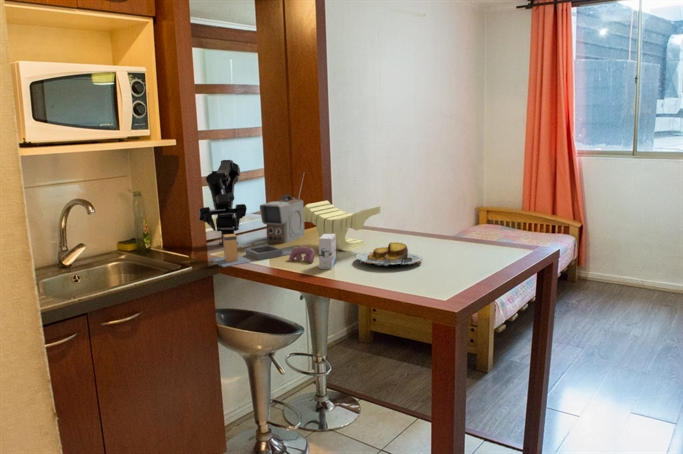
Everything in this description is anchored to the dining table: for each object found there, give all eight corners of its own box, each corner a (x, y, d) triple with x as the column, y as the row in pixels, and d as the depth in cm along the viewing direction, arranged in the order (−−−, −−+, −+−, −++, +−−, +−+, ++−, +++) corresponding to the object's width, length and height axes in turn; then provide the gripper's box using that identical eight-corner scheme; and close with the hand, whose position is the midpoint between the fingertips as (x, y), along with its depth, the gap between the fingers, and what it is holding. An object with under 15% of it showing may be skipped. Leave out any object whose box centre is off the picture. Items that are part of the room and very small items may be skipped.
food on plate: (343, 261, 224) (343, 244, 223) (394, 252, 237) (394, 236, 236) (382, 275, 203) (381, 257, 202) (435, 264, 216) (435, 247, 215)
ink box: (324, 263, 221) (323, 233, 218) (337, 263, 220) (336, 233, 217) (318, 269, 213) (317, 238, 210) (332, 269, 212) (331, 238, 209)
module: (224, 259, 227) (222, 234, 225) (235, 258, 229) (234, 233, 227) (226, 262, 223) (224, 237, 221) (238, 260, 225) (236, 235, 223)
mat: (209, 260, 228) (209, 259, 228) (237, 255, 235) (237, 254, 235) (224, 267, 217) (223, 266, 217) (252, 262, 224) (252, 261, 224)
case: (245, 256, 234) (245, 248, 234) (292, 248, 246) (291, 241, 246) (258, 261, 226) (257, 253, 225) (305, 252, 238) (305, 245, 237)
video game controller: (315, 265, 224) (317, 248, 225) (311, 263, 219) (313, 245, 221) (291, 264, 227) (294, 246, 228) (287, 261, 222) (290, 244, 224)
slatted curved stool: (303, 245, 251) (302, 205, 247) (328, 238, 263) (327, 200, 259) (356, 255, 231) (355, 212, 228) (380, 247, 243) (380, 206, 240)
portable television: (260, 244, 255) (257, 177, 249) (285, 233, 276) (283, 171, 270) (284, 246, 250) (281, 177, 244) (308, 235, 271) (306, 171, 266)
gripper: (197, 187, 227) (204, 219, 219) (244, 184, 234) (252, 215, 226) (195, 204, 235) (202, 236, 228) (240, 200, 242) (248, 231, 235)
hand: (226, 229), depth 229 cm, fingers open, 9 cm apart
